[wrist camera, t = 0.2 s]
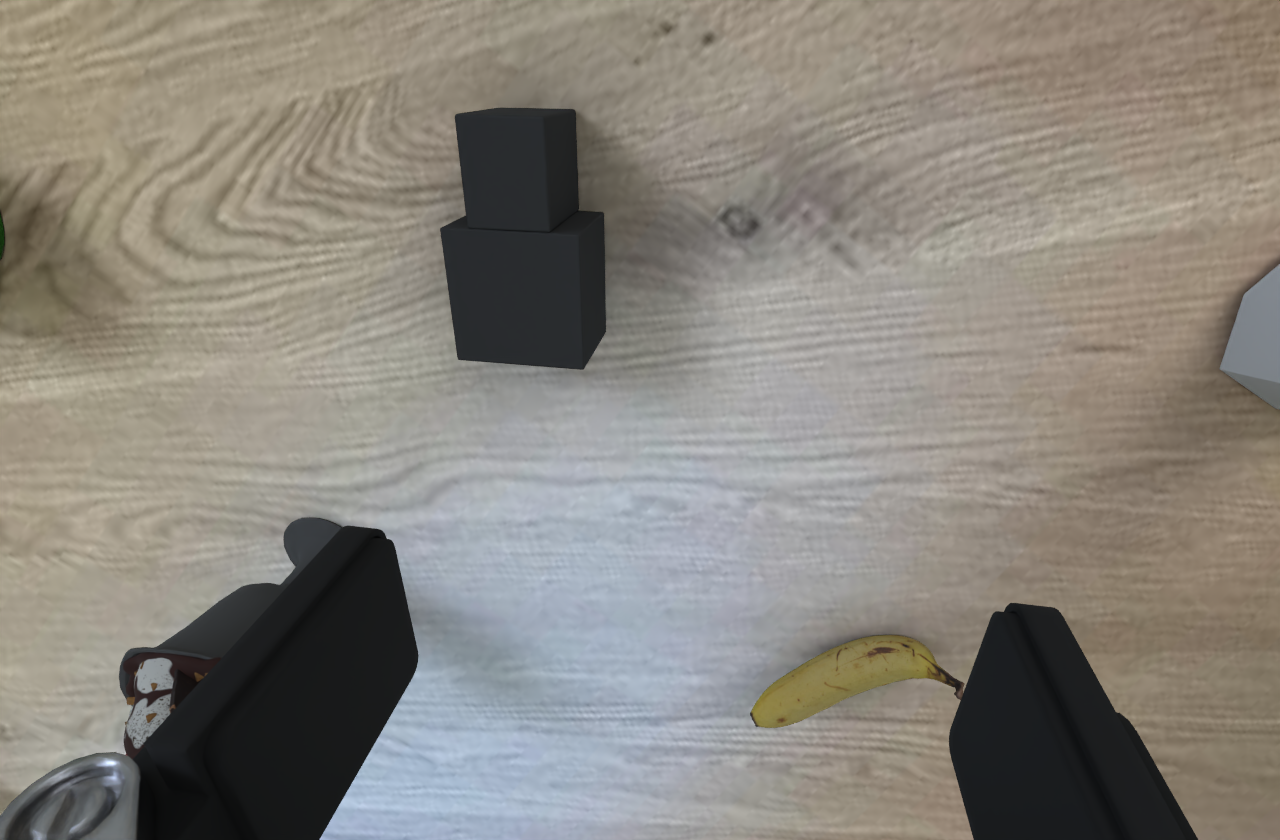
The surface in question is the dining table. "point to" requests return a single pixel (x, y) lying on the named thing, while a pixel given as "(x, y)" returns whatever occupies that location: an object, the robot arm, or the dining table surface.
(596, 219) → the pad
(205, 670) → the sundae
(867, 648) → the banana
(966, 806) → the robot arm
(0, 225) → the candle
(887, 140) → the dining table surface
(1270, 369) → the flask
